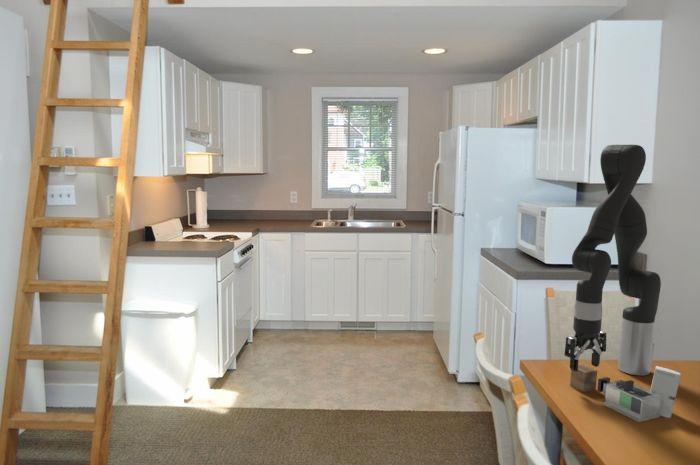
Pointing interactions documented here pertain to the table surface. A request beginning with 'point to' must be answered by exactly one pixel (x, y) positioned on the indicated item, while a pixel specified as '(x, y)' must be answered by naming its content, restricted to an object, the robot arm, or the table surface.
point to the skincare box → (665, 389)
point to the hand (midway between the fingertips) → (584, 368)
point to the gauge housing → (633, 402)
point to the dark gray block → (628, 385)
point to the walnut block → (584, 378)
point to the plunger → (604, 381)
